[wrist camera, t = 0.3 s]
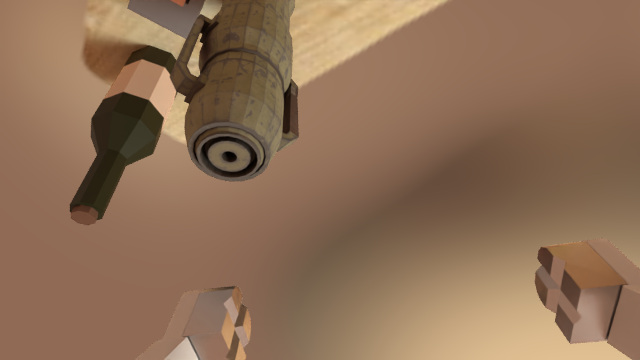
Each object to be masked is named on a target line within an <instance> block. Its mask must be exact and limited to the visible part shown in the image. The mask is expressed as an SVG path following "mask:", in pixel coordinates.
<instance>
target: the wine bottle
mask: <svg viewBox="0 0 640 360" xmlns="http://www.w3.org/2000/svg"><path fill="white" fill-rule="evenodd" d="M175 63H176V59H175V58H174V56H173V55H172V54H171V53H169V52H166V51H163V50H161V49H158V48H155V47H153V46H147V47H145V48H142V49H140V50H137V51H135V52H133V53H132V54H131V56H130V57H129V59H128V61H127V62H126V64H125V66H124V67H123V69H122V70H121V72H120V74H119V75H118V77H117V78H116V80H115V82H114V83H113V85H112V86H111V88H110V90H109V91H108V93H107V94H106V96H105V98H104V99H103V101H102V103H101V104H100V106H99V107H98V109H97V111H96V112H95V114H94V116H93V117H92V121H91V139H92V142H93V144H94V147H95V150H96V153H97V156H96V158H95V160H94V162H93V163H92V165H91V167H90V169H89V171H88V173H87V174H86V176H85V178H84V180H83V182H82V184H81V185H80V187H79V189H78V191H77V193H76V195H75V196H74V198H73V200H72V202H71V204H70V212H71V218H72V219H73V220H74V221H76V222H77V223H80V224H85V225H90V224H94V223H95V222H96V220H99V219H102V217H103V215H104V213H105V211H106V209H107V206H108V204H109V202H110V199H111V197H112V195H113V193H114V191H115V189H116V186H117V184H118V182H119V180H120V178H121V176H122V174H123V171H124V169H125V167H126V166H127V165H129V164H132V163H134V162H136V161H138V160H140V159H143V158H145V157H147V156H149V155H152V154H153V152H154V150H155V147H156V145H157V142H158V140H159V137H160V135H161V132H162V130H163V127H164V125H165V122H166V120H167V117H168V115H169V112H170V110H171V107H172V105H173V102H174V100H175V97H176V95H177V91H176V90H175V88H174V86H173V83H172V81H171V79H170V74H171V72H172V70H173V68H174V65H175Z"/></svg>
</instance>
